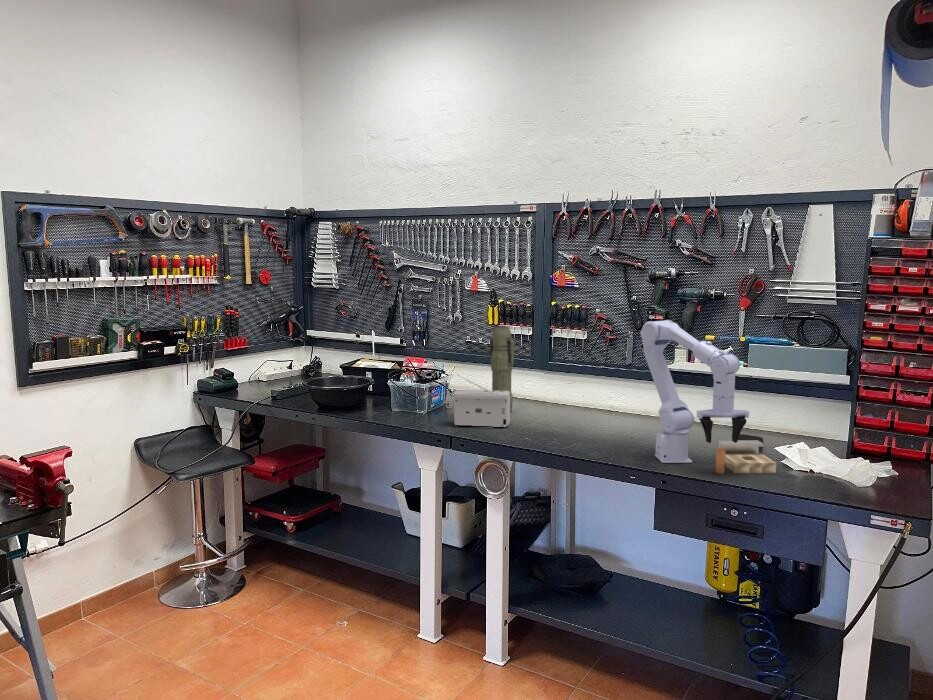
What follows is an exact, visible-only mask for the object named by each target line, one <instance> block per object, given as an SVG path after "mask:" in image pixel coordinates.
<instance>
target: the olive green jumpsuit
mask: <svg viewBox="0 0 933 700" xmlns="http://www.w3.org/2000/svg"><path fill="white" fill-rule="evenodd" d="M489 361H490V369H491V373H492V374H491V377H492V378H491V381H492V382H491V383H492V384H491V391H510V411H512V412H513V405H514V404H513V401H514V400H513V396H514V395H513V394H512V371H513V367H514V364H515V341H514V339H513V338H512V332H511V328H510V327H508V326H507V325H497V326H496V327H495V326H494V328H493V331H492V337H491V338H490V339H489Z"/></svg>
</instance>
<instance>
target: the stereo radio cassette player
mask: <svg viewBox="0 0 933 700" xmlns="http://www.w3.org/2000/svg"><path fill="white" fill-rule="evenodd" d="M457 377H460V378H461V379H464V380H466V381H467V382H468V383H471V384H473V385H475V386H477V387H479V388H480V389H482V390H479V389H477V390H475V389H474V390H473V389H457V390H454V393H453V394H454V395H453V422H454V423H453V424H454V425H455V426H456V425H472V426H493V427H506V426H507V427H508V426H509V425H510V422H511V412H510V391H492V390H488V389H487V388H485V387H483V386H482V385H479V384H478V383H476V382H473V381H471V380H470V379H467V378H465V377H463V376H461V375H459V374H457ZM493 427H492V428H493ZM507 427H506V428H507Z"/></svg>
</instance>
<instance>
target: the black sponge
mask: <svg viewBox="0 0 933 700" xmlns="http://www.w3.org/2000/svg"><path fill="white" fill-rule="evenodd" d="M738 440H758V441H760V442H761V443H763V444H765V443H764V438H763V437H761V436H758V435H751V434H741V433H740V435H739V437H738ZM758 453H761V454H763V447H759V452H758Z"/></svg>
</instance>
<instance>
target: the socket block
mask: <svg viewBox="0 0 933 700" xmlns="http://www.w3.org/2000/svg"><path fill="white" fill-rule="evenodd" d="M725 467H726V468H727V469H729V470H730V471H732V472H733V473H734V474H776V472H777V462H775V461H773V460H772V459H771V458H769V457H767V456H766V455H765V454H763V453H762V454H761V453H746V454H725Z"/></svg>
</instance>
